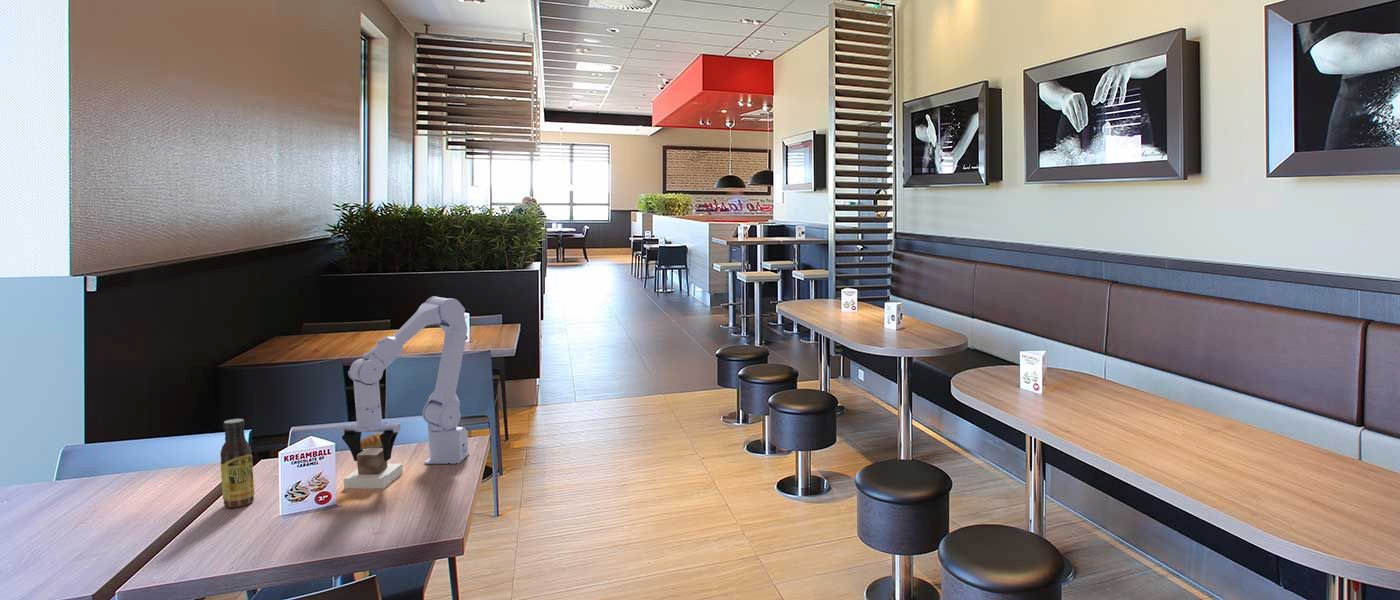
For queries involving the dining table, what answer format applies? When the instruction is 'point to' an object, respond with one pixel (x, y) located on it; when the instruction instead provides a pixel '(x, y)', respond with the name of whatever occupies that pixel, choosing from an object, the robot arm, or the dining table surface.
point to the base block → (373, 478)
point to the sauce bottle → (236, 466)
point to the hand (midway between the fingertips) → (372, 459)
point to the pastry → (371, 441)
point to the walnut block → (371, 461)
